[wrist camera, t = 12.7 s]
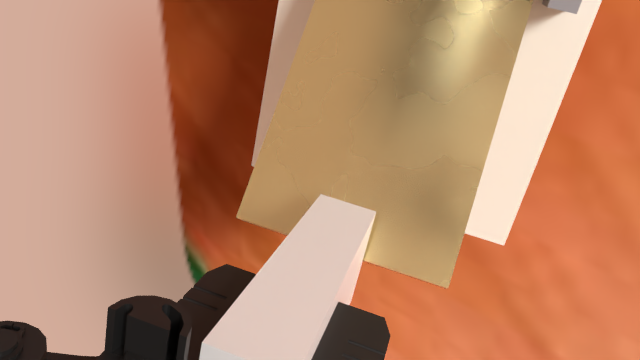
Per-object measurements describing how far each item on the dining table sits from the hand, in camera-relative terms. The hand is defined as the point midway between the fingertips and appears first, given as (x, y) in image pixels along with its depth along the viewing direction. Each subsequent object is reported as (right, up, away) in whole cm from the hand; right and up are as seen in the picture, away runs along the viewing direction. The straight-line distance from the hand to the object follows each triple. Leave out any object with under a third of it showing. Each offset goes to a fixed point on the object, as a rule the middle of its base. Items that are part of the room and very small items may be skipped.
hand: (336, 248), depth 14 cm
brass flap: (+2, +4, +2) cm, 5 cm away
